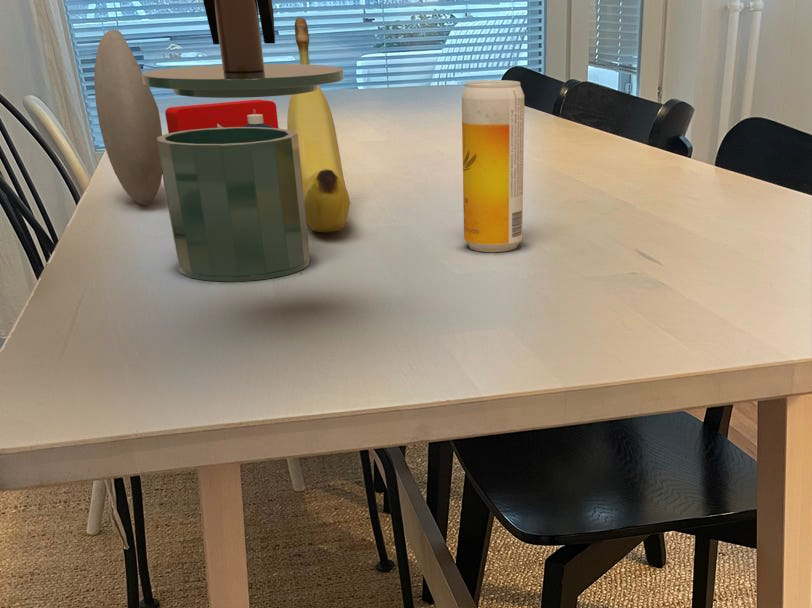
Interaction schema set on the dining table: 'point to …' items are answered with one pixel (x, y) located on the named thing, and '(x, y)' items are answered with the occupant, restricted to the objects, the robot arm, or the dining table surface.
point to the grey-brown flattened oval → (127, 118)
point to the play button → (219, 115)
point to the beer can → (493, 164)
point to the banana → (317, 151)
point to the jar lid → (241, 64)
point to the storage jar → (235, 202)
